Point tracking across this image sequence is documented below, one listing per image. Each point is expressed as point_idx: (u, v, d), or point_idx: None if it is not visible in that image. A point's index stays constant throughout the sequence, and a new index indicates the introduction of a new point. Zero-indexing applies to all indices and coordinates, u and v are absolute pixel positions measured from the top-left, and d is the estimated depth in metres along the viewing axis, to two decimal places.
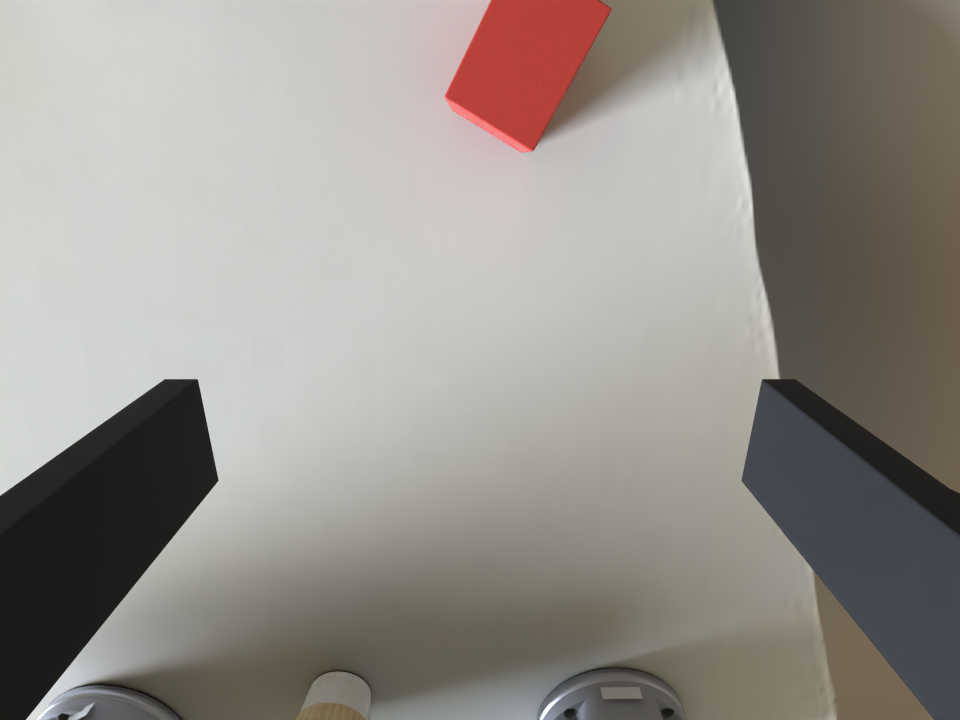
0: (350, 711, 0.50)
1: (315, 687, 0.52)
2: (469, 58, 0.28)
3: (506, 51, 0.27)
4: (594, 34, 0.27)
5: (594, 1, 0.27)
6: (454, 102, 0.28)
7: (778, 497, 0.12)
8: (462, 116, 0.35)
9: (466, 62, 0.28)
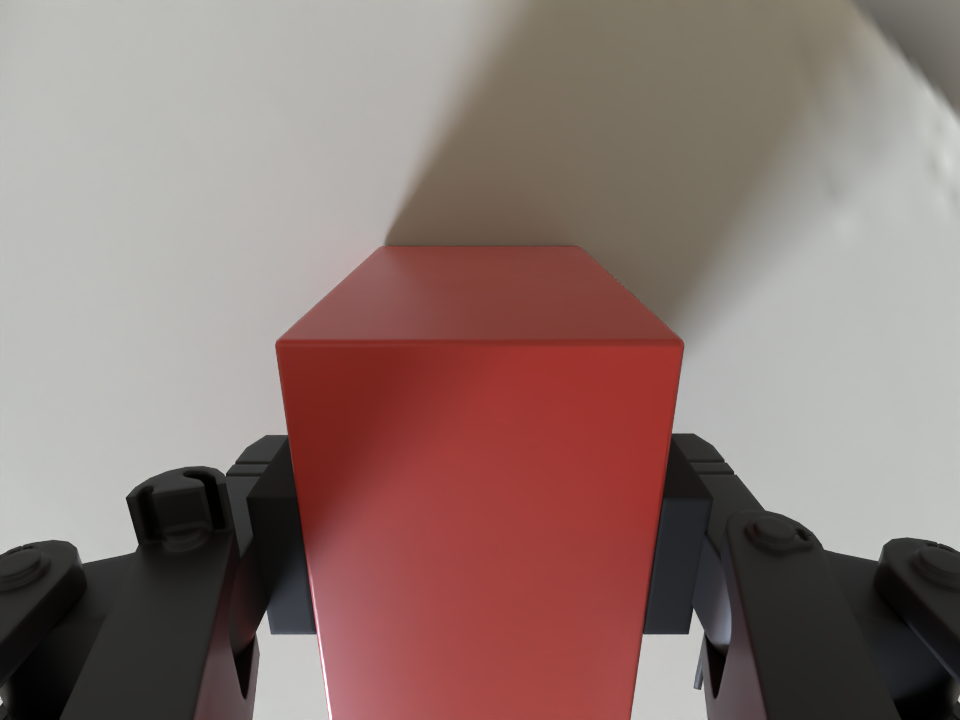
0: None
1: None
2: (334, 648, 0.09)
3: (422, 591, 0.09)
4: (663, 435, 0.08)
5: (614, 355, 0.07)
6: None
7: None
8: None
9: (331, 657, 0.09)
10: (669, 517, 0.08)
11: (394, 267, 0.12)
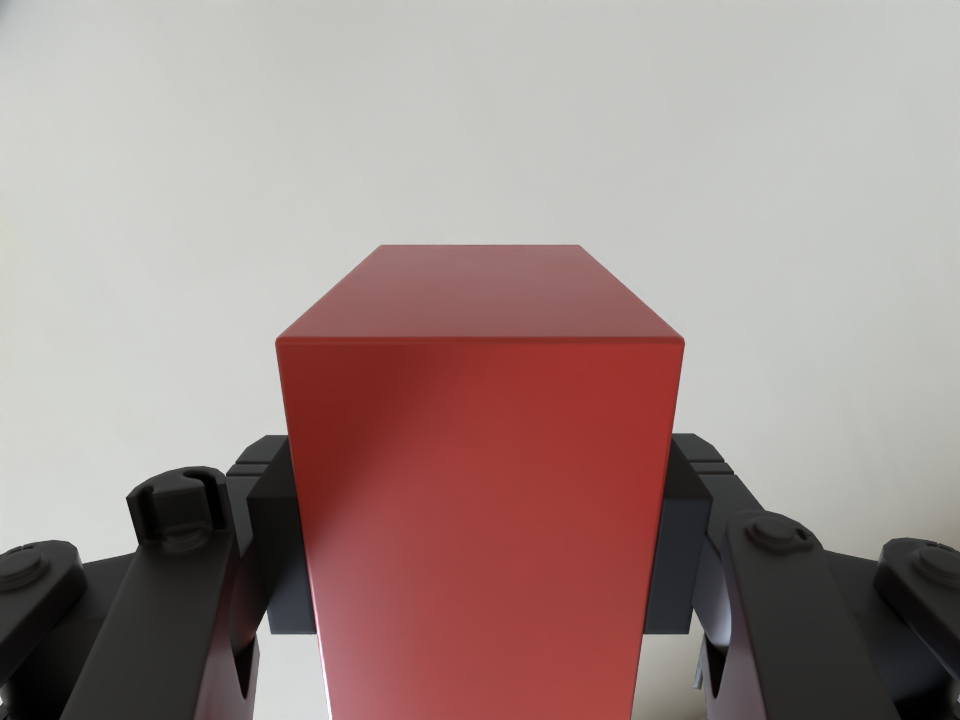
0: None
1: None
2: (333, 646, 0.09)
3: (422, 590, 0.09)
4: (663, 433, 0.07)
5: (614, 353, 0.07)
6: None
7: None
8: None
9: (331, 655, 0.09)
10: (669, 517, 0.08)
11: (394, 265, 0.12)
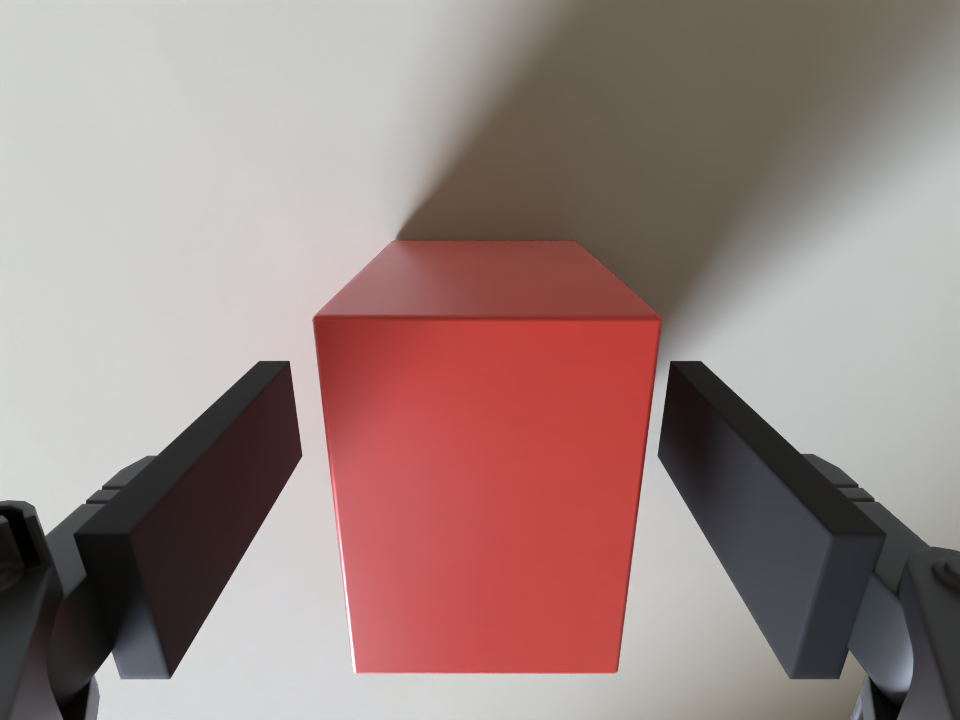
0: None
1: None
2: (357, 591, 0.10)
3: (436, 539, 0.10)
4: (644, 399, 0.09)
5: (602, 328, 0.08)
6: (380, 672, 0.11)
7: (680, 468, 0.13)
8: None
9: (354, 599, 0.10)
10: (835, 555, 0.07)
11: (407, 258, 0.13)
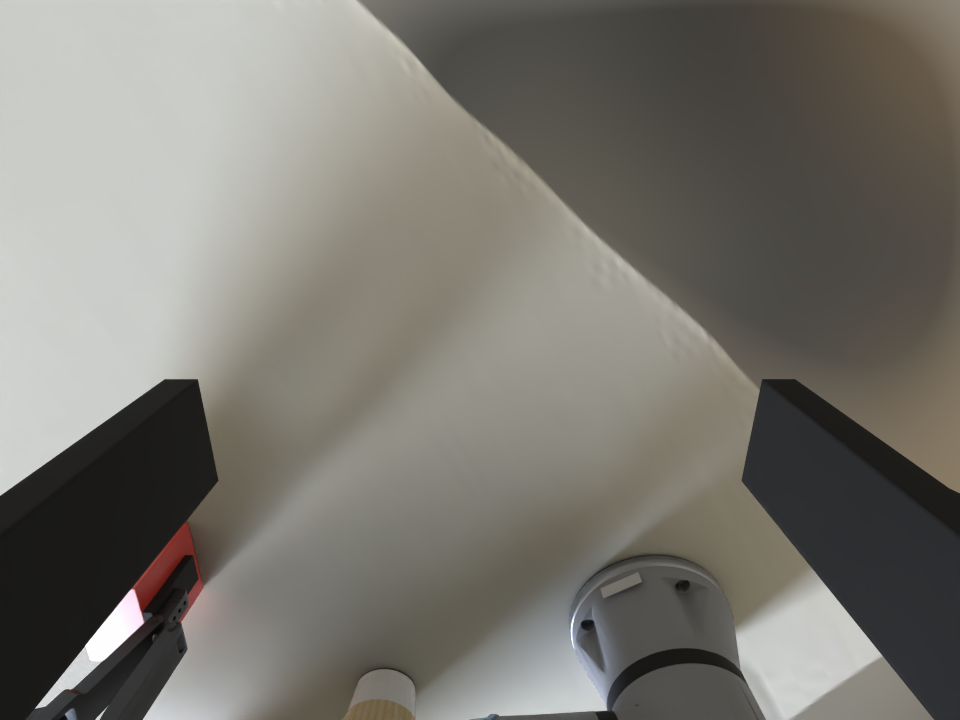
0: (382, 702, 0.51)
1: (354, 693, 0.54)
2: None
3: (101, 629, 0.43)
4: (136, 602, 0.42)
5: None
6: (97, 660, 0.44)
7: (778, 497, 0.12)
8: None
9: None
10: None
11: None
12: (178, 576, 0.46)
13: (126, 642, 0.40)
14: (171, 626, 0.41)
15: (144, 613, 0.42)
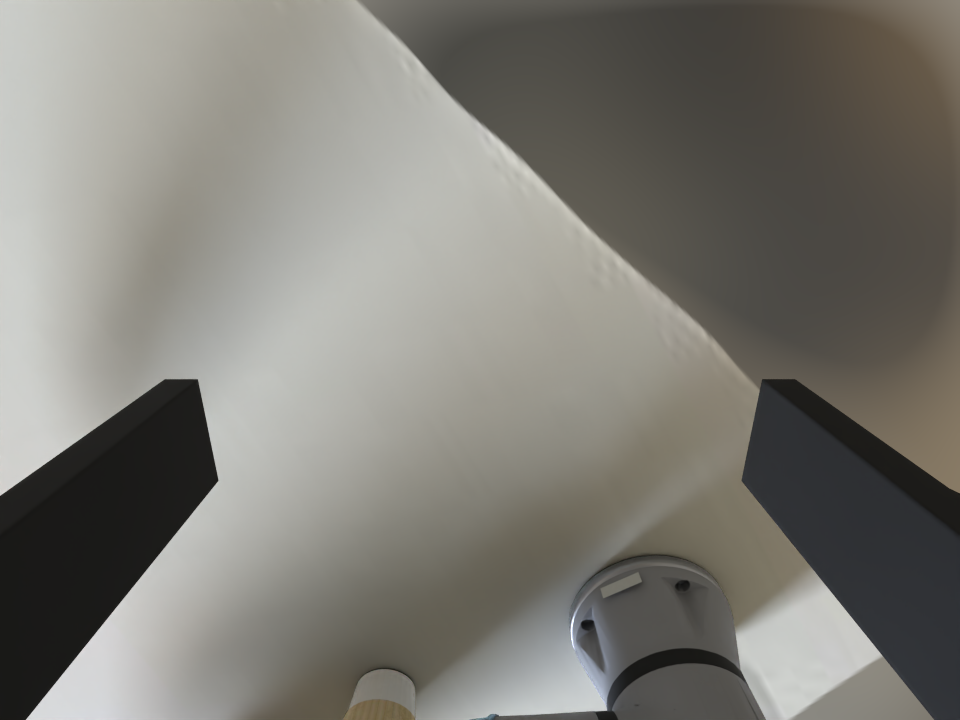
0: (382, 702, 0.51)
1: (354, 693, 0.54)
2: None
3: None
4: None
5: None
6: None
7: (778, 497, 0.12)
8: None
9: None
10: None
11: None
12: None
13: None
14: None
15: None
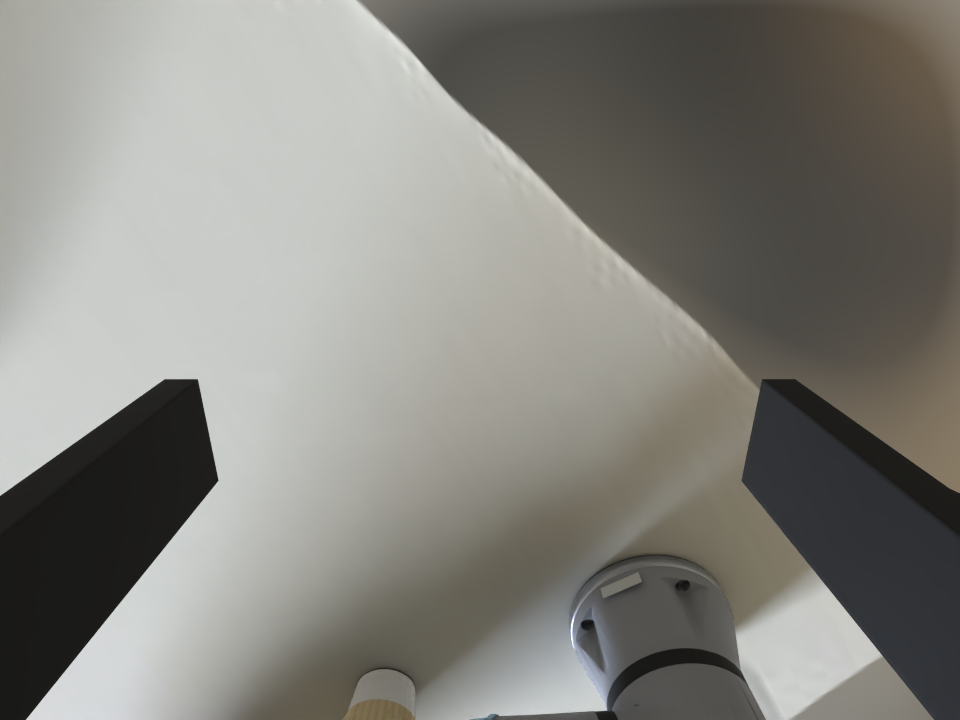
0: (382, 702, 0.51)
1: (354, 693, 0.54)
2: None
3: None
4: None
5: None
6: None
7: (778, 497, 0.12)
8: None
9: None
10: None
11: None
12: None
13: None
14: None
15: None
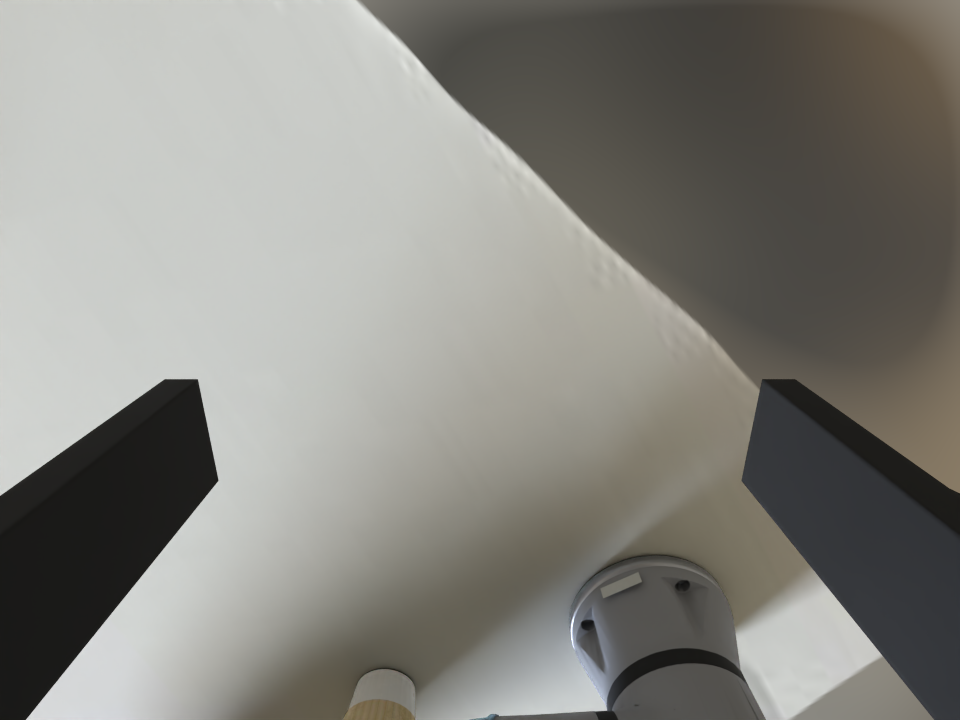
0: (382, 702, 0.51)
1: (354, 693, 0.54)
2: None
3: None
4: None
5: None
6: None
7: (778, 497, 0.12)
8: None
9: None
10: None
11: None
12: None
13: None
14: None
15: None
